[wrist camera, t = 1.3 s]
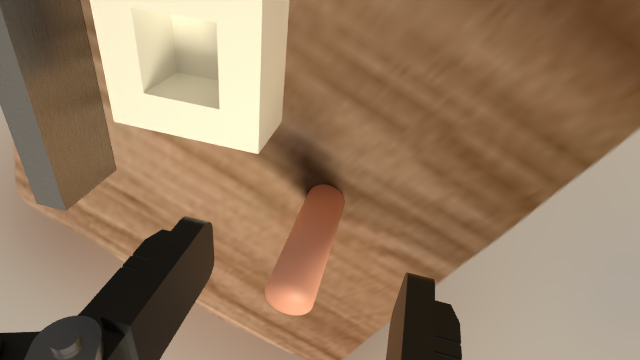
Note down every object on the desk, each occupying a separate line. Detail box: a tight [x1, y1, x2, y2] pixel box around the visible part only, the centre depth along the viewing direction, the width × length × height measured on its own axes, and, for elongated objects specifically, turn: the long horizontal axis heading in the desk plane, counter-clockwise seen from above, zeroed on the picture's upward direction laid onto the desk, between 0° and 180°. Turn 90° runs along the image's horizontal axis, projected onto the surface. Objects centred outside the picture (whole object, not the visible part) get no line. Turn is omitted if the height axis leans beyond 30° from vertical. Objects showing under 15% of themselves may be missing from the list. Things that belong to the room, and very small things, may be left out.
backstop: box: [0, 0, 116, 211], centre depth 27 cm, size 22×2×6 cm, turn 173°
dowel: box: [265, 184, 345, 315], centre depth 28 cm, size 3×3×10 cm
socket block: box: [90, 0, 289, 154], centre depth 25 cm, size 10×10×5 cm
